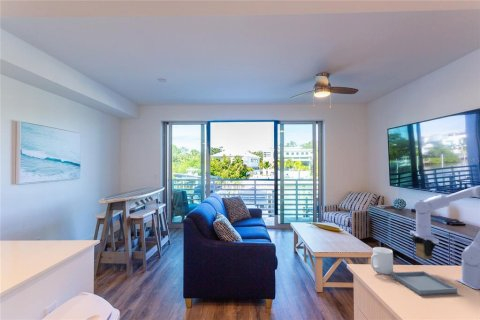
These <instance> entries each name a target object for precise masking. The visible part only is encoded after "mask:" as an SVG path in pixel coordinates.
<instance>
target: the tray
mask: <svg viewBox="0 0 480 320" xmlns="http://www.w3.org/2000/svg"><path fill="white" fill-rule="evenodd" d="M390 278H392V279H393V280H394V281H396V282H398V283H399V284H401V285H403V286H404V287H406V288H407V289H409V290H410V291H412V292H414V293H415V294H417V295H418V296H421V297H422V296H435V295H438V296H440V295H454V294H458V288H457V287H455V286H453V285H452V284H449V283H448V282H445V281H444V280H442V279H440V278H437V277H436V276H434V275H433V274H432V275H431V274H429V273H428V272H427V271H424V270H421V271H398V272H395V271H393V273H391V274H390Z"/></svg>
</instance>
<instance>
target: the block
mask: <svg viewBox="0 0 480 320" xmlns="http://www.w3.org/2000/svg"><path fill="white" fill-rule="evenodd" d="M415 256H416V257H418V258H419V259H423V260H428V259H429V260H431V259H433V253H432V254H431V256H426V254H425V247H424V244H423V243H416V246H415Z"/></svg>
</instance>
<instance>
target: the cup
mask: <svg viewBox="0 0 480 320" xmlns="http://www.w3.org/2000/svg"><path fill="white" fill-rule="evenodd" d="M393 253H394V252H393V250H392V249H390V248H387V247H382V246H381V247H380V246H375V247H373V248H372V255H371V257H370V266H371V268H372V269H373V270H374V272H377V273H379V274H382V275H391V273H394V254H393Z"/></svg>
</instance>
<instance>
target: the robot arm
mask: <svg viewBox="0 0 480 320" xmlns="http://www.w3.org/2000/svg"><path fill="white" fill-rule="evenodd" d="M471 197H473V198H474V197H475V198H479V199H480V185H476V186H472V187H471V186H470V187H468V188H466V189H463V190H460V191H457V192H453V193H450V194H448V195H445V194H443V193H442V194H441V193H440V194H438V193H437V194H434V196H432V197H431V196H430V197H428V198H427V197H425V198H423V200H418V201H417V202H415V203H414V210H415V230H410V231H409V235H410V236H411V240H412V242H413V244H414V247H416V243H423V244H424V247H425V254H426V256H431V254H432V255H433V250H434V248H435V247H436V246H437V244H440V240H439V238H436V237H435V236H433V235H432V230H431V229H432V226H431V221H432V220H431V219H432V217H431V211H436V210H440V209H442V208H443V209H444V208H446V207H449V206H450V204H451V202H455V201H459V200H463V199H467V198H471ZM460 256H461V278H457V279H456V281H457V282H459V283H461V284H463V285H466V286H467V287H469V288H472V289H474V290H480V230H479V231H478V233H477V235H476V236H475V238H474V239H473V240H472V242H471V243H470V245H467V246H465V247H464V250H463V251H462V252H461V254H460Z"/></svg>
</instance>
